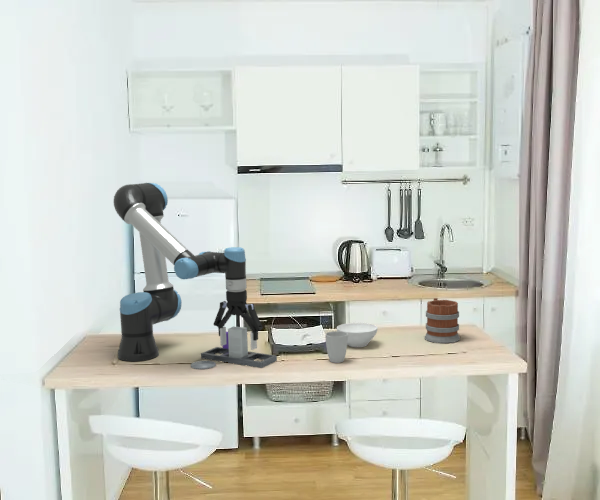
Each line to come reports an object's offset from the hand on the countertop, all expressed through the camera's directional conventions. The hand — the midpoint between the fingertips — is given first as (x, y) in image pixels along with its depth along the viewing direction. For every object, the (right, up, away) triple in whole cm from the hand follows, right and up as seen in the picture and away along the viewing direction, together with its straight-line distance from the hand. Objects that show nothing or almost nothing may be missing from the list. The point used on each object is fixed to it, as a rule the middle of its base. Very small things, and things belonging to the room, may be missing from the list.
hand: (238, 346), depth 281 cm
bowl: (+45, -2, +18) cm, 49 cm away
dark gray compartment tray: (0, -5, +1) cm, 5 cm away
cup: (+36, -5, -3) cm, 36 cm away
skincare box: (0, -5, +1) cm, 5 cm away
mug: (+79, 0, +27) cm, 84 cm away
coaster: (-12, -6, -6) cm, 15 cm away
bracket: (-4, -3, +21) cm, 22 cm away
